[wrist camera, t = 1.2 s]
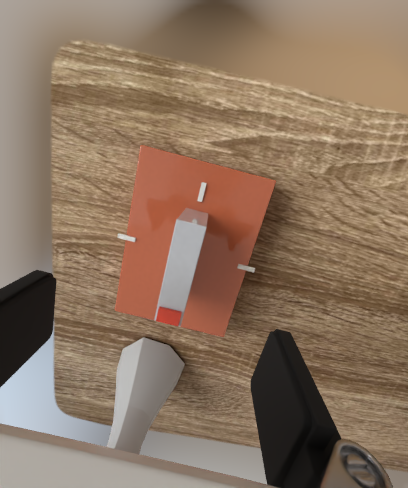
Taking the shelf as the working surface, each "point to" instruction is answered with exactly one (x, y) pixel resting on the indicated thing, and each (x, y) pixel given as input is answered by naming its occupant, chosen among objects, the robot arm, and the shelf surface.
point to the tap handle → (181, 266)
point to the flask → (142, 391)
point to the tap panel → (214, 244)
